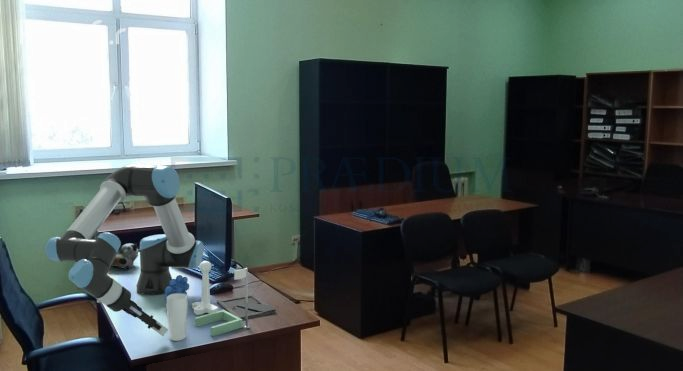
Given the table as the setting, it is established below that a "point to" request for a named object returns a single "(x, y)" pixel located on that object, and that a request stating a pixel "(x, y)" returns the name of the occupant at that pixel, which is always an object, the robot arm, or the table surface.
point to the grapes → (177, 286)
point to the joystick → (204, 292)
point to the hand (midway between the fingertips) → (164, 332)
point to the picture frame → (238, 306)
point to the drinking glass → (177, 316)
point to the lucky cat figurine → (126, 256)
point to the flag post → (244, 274)
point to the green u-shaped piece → (231, 324)
